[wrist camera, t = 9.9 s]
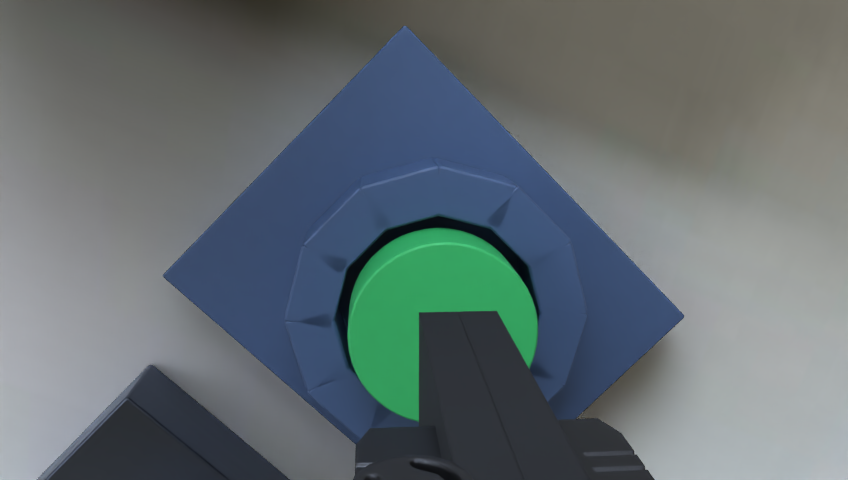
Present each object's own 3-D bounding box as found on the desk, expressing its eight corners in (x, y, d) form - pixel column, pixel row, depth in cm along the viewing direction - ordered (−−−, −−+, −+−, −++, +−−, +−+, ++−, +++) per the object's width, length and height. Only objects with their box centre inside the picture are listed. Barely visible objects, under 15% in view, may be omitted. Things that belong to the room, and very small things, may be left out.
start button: (559, 310, 19) (577, 333, 18) (436, 428, 20) (442, 460, 18) (437, 190, 19) (445, 202, 17) (312, 315, 19) (306, 339, 17)
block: (656, 294, 23) (714, 338, 20) (447, 491, 24) (463, 571, 20) (400, 29, 21) (408, 19, 17) (181, 257, 22) (141, 296, 18)
